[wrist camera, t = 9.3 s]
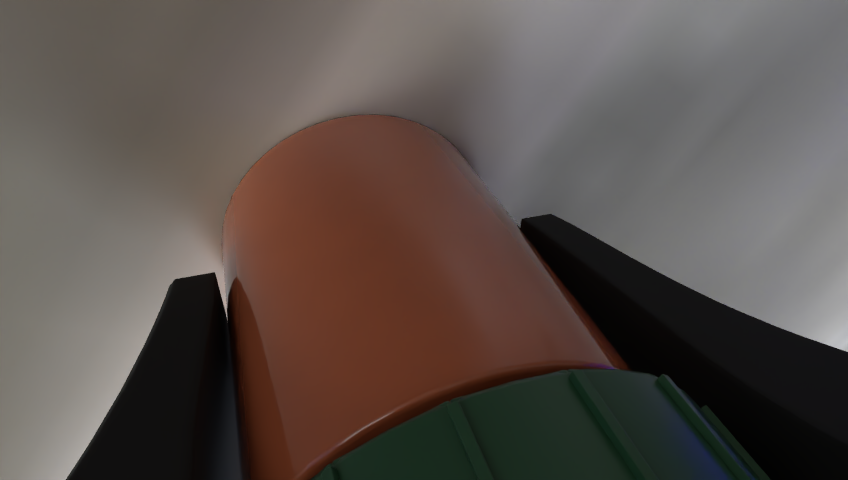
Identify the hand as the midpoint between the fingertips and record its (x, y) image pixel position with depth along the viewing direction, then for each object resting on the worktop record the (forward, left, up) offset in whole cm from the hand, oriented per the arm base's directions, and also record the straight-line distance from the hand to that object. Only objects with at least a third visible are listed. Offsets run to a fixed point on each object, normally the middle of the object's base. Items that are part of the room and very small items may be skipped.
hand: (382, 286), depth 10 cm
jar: (0, 0, -2) cm, 2 cm away
